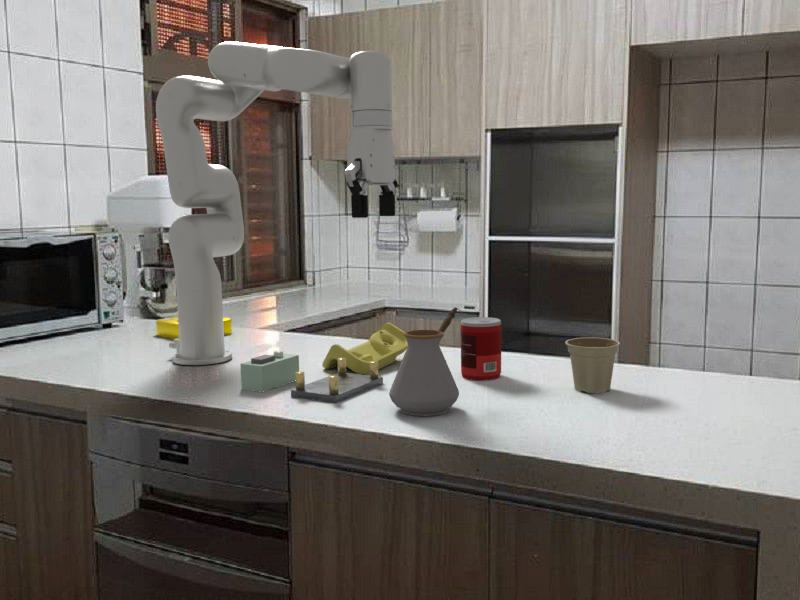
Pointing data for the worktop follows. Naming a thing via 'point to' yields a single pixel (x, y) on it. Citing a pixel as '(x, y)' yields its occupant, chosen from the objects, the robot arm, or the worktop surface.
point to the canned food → (481, 348)
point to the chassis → (336, 384)
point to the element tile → (171, 327)
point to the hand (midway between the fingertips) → (374, 216)
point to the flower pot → (592, 363)
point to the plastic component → (370, 350)
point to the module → (269, 371)
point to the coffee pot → (425, 374)
